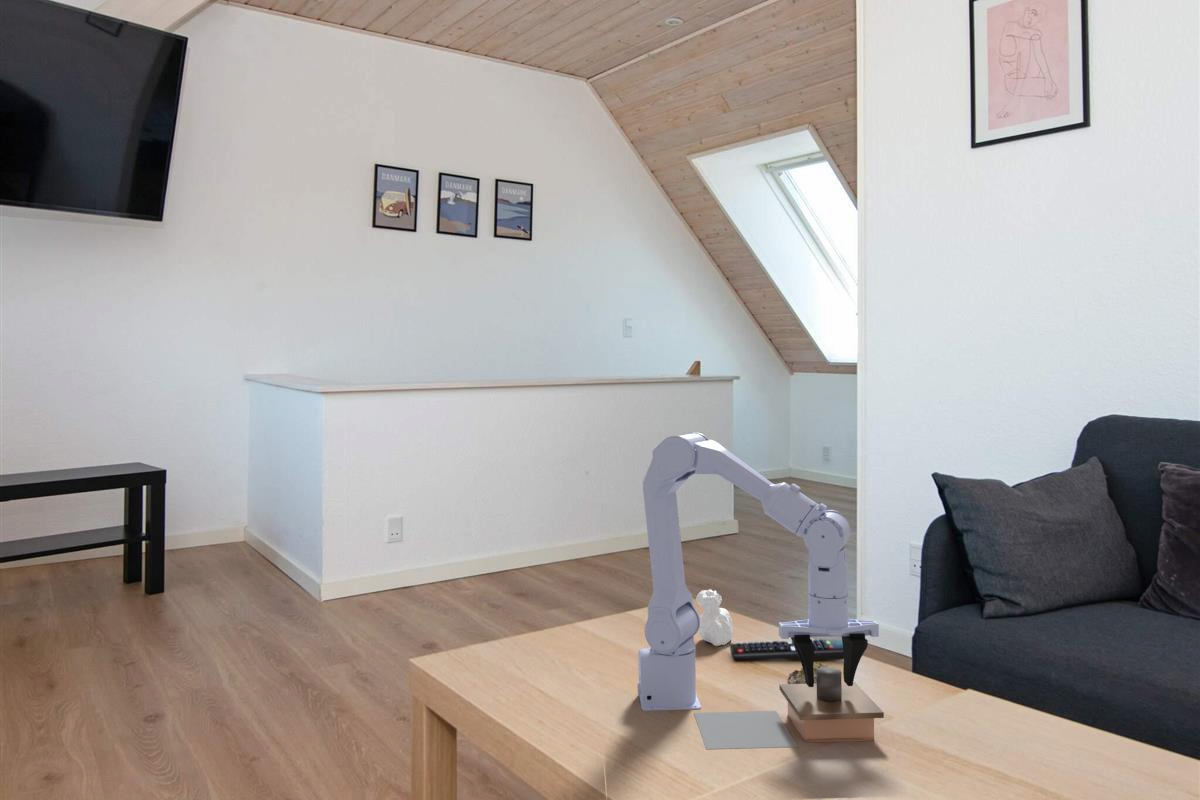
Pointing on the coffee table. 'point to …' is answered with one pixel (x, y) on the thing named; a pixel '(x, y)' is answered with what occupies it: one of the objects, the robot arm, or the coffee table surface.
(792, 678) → the mineral rock
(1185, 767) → the coffee table surface
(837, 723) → the peach square box
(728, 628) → the bust
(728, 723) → the rubber mat
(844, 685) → the walnut lid
